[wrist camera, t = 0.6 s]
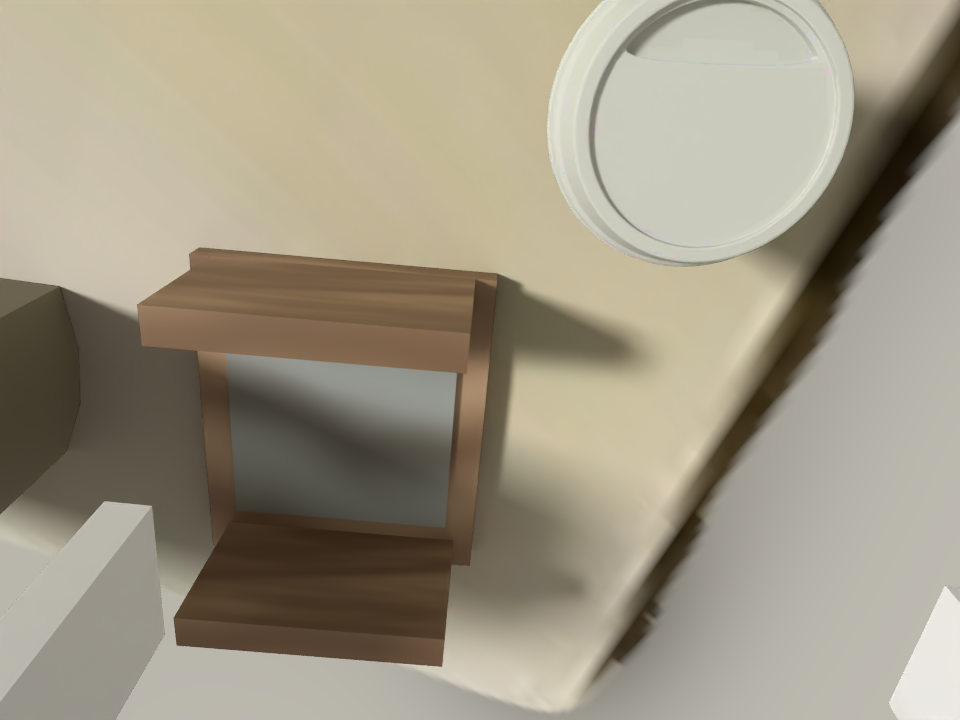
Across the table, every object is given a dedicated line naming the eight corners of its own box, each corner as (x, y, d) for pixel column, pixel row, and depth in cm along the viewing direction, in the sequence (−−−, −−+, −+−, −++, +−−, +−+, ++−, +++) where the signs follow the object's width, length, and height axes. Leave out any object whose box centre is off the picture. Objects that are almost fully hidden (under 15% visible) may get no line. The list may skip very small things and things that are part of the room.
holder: (199, 247, 32) (109, 302, 25) (497, 273, 32) (497, 335, 25) (221, 530, 39) (154, 643, 31) (470, 551, 39) (464, 668, 31)
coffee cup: (775, 77, 29) (948, 83, 18) (643, 242, 32) (723, 335, 21) (615, -56, 27) (698, -140, 16) (491, 132, 30) (489, 169, 19)
